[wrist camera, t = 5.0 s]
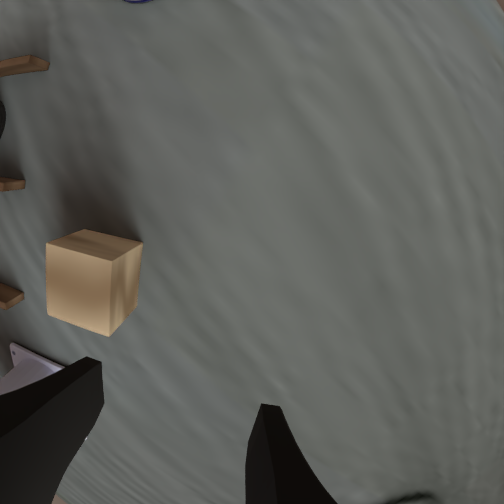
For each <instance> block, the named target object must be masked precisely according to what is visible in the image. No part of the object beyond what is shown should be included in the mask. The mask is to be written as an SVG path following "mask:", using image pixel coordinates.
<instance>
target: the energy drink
mask: <svg viewBox="0 0 504 504" xmlns="http://www.w3.org/2000/svg"><path fill="white" fill-rule="evenodd" d="M124 1H126V2H129V3H144V2H149V1H152V0H124Z"/></svg>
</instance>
